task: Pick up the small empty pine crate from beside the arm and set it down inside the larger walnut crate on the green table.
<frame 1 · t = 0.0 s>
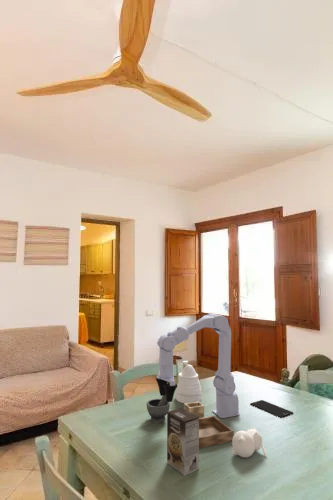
hand: (166, 398, 134), 10 cm above the table, fingers open, 7 cm apart
small crate: (194, 419, 138), on the table
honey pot: (188, 399, 161), on the table
large crate: (207, 435, 123), on the table
cell phone: (271, 410, 149), on the table
coffee box: (182, 466, 103), on the table
cat figurine: (249, 455, 110), on the table
mortar and pestle: (159, 419, 137), on the table
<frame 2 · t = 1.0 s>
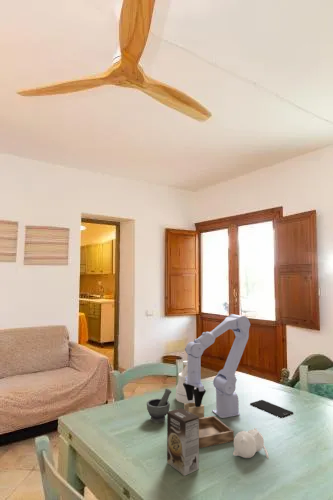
hand: (193, 403, 139), 6 cm above the table, fingers open, 7 cm apart
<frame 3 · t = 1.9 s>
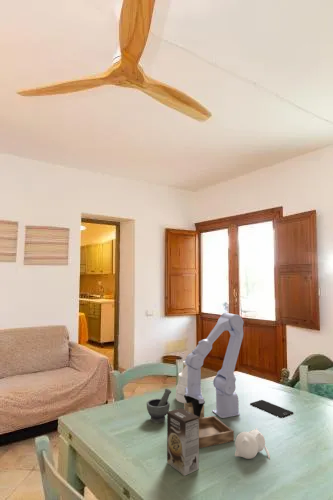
hand: (194, 415, 138), 2 cm above the table, fingers closed on small crate, 5 cm apart
small crate: (194, 419, 138), on the table, touching gripper
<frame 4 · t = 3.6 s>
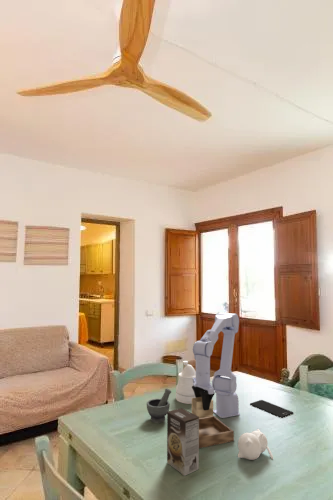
hand: (202, 407, 128), 9 cm above the table, fingers closed on small crate, 5 cm apart
small crate: (202, 414, 128), point 6 cm above the table, touching gripper
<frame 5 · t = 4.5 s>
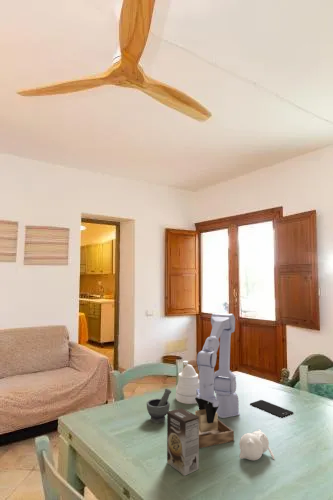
hand: (206, 419, 124), 6 cm above the table, fingers closed on small crate, 5 cm apart
small crate: (206, 428, 123), point 3 cm above the table, touching gripper
when the fingers open (4 cm above the table, at t = 5.3 s): small crate stays where it is, resting on large crate.
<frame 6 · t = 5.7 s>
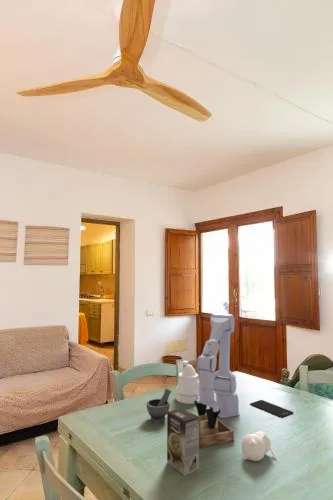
hand: (206, 424, 124), 4 cm above the table, fingers open, 7 cm apart
small crate: (206, 434, 123), point 1 cm above the table, touching large crate
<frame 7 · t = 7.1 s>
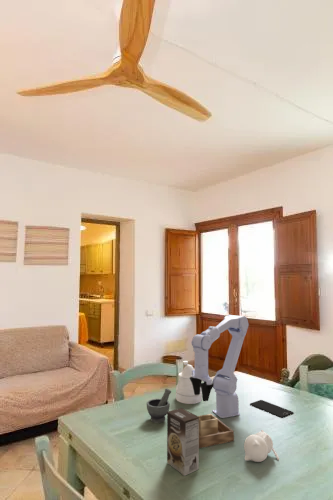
hand: (201, 397, 134), 10 cm above the table, fingers open, 7 cm apart
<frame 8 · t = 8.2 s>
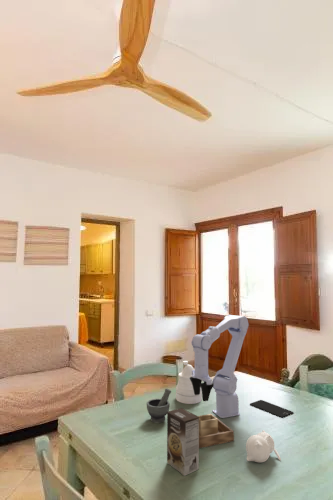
hand: (201, 397, 134), 10 cm above the table, fingers open, 7 cm apart
at the end: small crate inside the target area on the large crate (0.2 cm from its centre), point 0.6 cm above the large crate's base; small crate tilted 0°; the gripper is holding nothing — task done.
